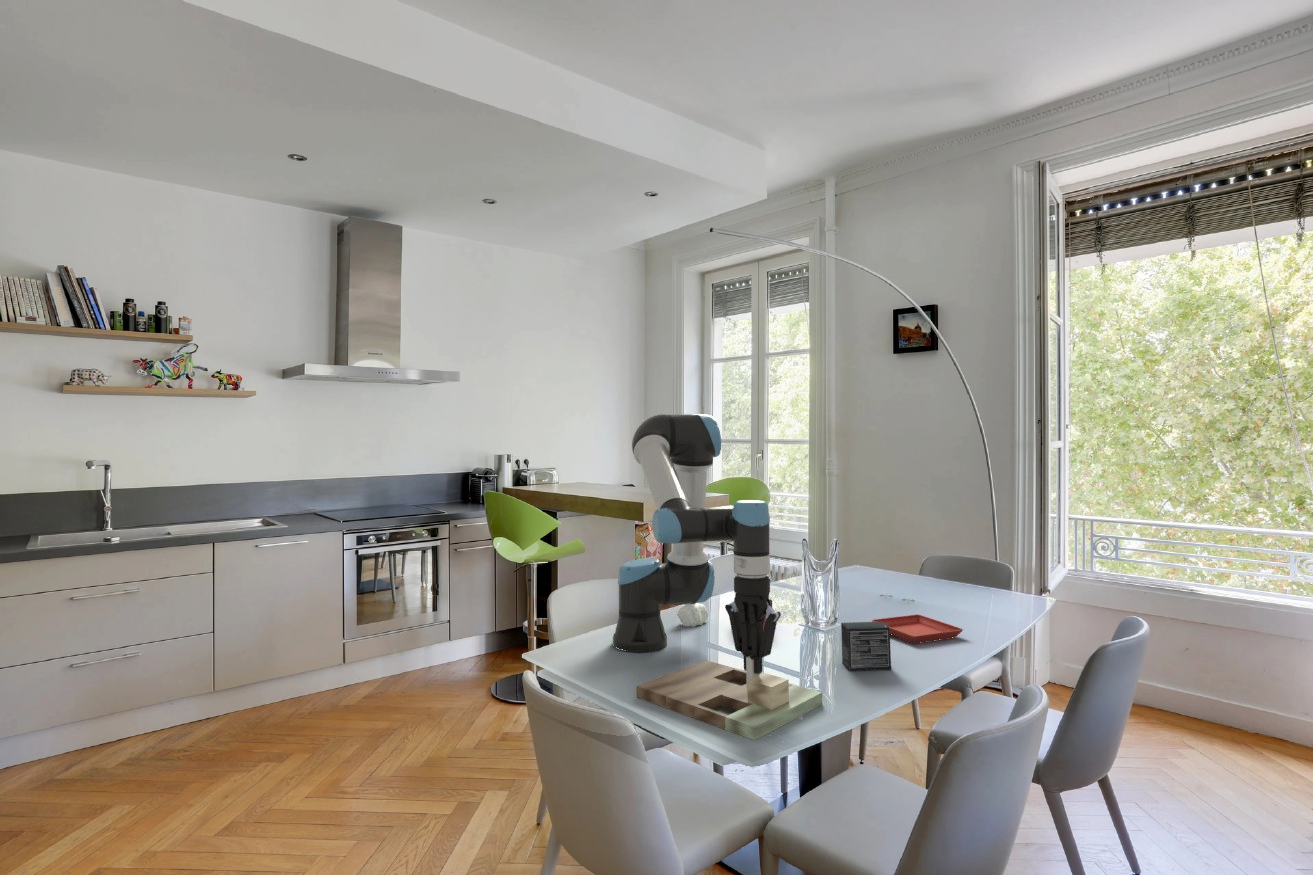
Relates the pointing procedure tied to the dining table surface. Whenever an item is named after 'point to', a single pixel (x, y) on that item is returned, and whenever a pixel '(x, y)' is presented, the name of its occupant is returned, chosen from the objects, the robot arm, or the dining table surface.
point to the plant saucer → (919, 628)
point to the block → (768, 691)
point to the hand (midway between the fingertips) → (753, 687)
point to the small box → (866, 646)
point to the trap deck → (724, 699)
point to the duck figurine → (692, 614)
